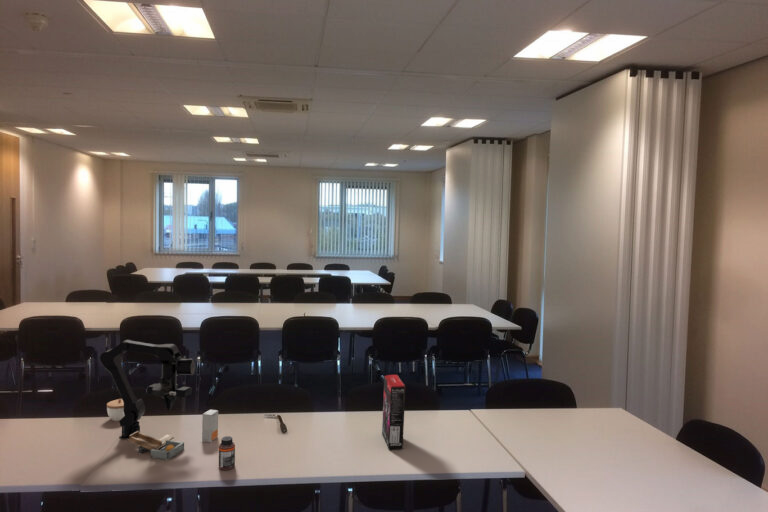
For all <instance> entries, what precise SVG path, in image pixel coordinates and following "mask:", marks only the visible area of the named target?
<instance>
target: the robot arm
mask: <svg viewBox="0 0 768 512" xmlns="http://www.w3.org/2000/svg"><path fill="white" fill-rule="evenodd" d="M126 352H133V353H138V354H139V353H140V354H146V355H151V356H155V357H156V358H158V359H159V361H157V363H156V365H159V366H160V365H161V377H159V382H157V383H153V384H151V385H149V386H147V387H146V394H148V395H149V394H150V395H152V394H153V396H154V397H160V398H161V399H162V400H163V402H164V405H165V408H166V410H167V411H171V409H172V407H173V405H174V403H175V401H176V400H177V398H187V397H188V396H190V395H193V389H192V387H190V386H182V387H180V388H178V387H179V384H178V383H177V379H178V378H179V375H180V376H181V375H182V376H185V375H187V376H188V375H189V376H193V375H195V371H196V364H195V361H194V358H184V356H183V354H182V353H181V352H180V351H179V347H178V346H177V345H176V344H174V343H164V344H154V343H148V342H147V343H146V342H143V341H135V340H131V339H125V340H123V341H121V342H120V343H119V344H118V345H116V346H115V347H113V348H110V349H108V350H106V351H104V352H102V353H101V354H100V356H99V362H100V363H101V365H102V366H103V368H104V369H106V371H108V372H109V373H110V375H111V377H112V380H113V381H114V384H115V386H116V388H117V391H118V392H119V395H120V397H121V398H120V399H122V400H123V402H124V414H125V416H124V417H123V418H122V419H121V420H120V421H118V424H119V426H120V427H121V435H120V436H119V437H118V438H119V439H123V440H128V439H129V435H131V434H133V433H135V432H136V431H139V432H140V433H141V425H140V421H139V420H140V419H141V418H142V416H143V415H144V414H145V412H146V405H145V403H144V400H143V398H140V399H139V398H138V397H137V396H135V393H134V391H133V389H132V387H131V385H130V381H129V380H128V378H127V375H126V373H125V372H124V369H123V358H122V355H123V354H124V353H126Z"/></svg>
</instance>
